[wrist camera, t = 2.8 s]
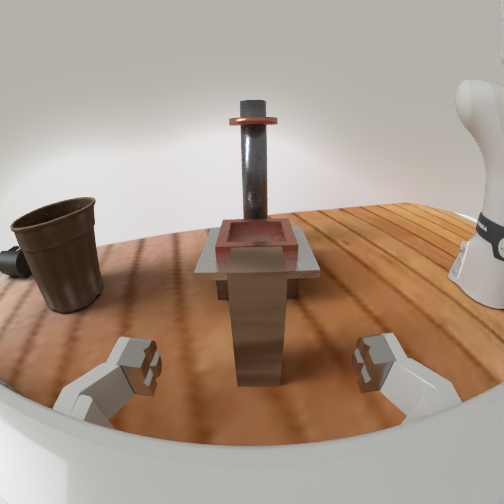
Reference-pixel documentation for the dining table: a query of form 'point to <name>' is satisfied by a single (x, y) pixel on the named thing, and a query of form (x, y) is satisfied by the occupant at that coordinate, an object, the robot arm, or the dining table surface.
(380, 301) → the dining table surface
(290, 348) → the dining table surface
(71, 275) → the plant pot
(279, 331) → the tall wooden post
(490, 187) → the robot arm
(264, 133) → the bracket
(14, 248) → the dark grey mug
